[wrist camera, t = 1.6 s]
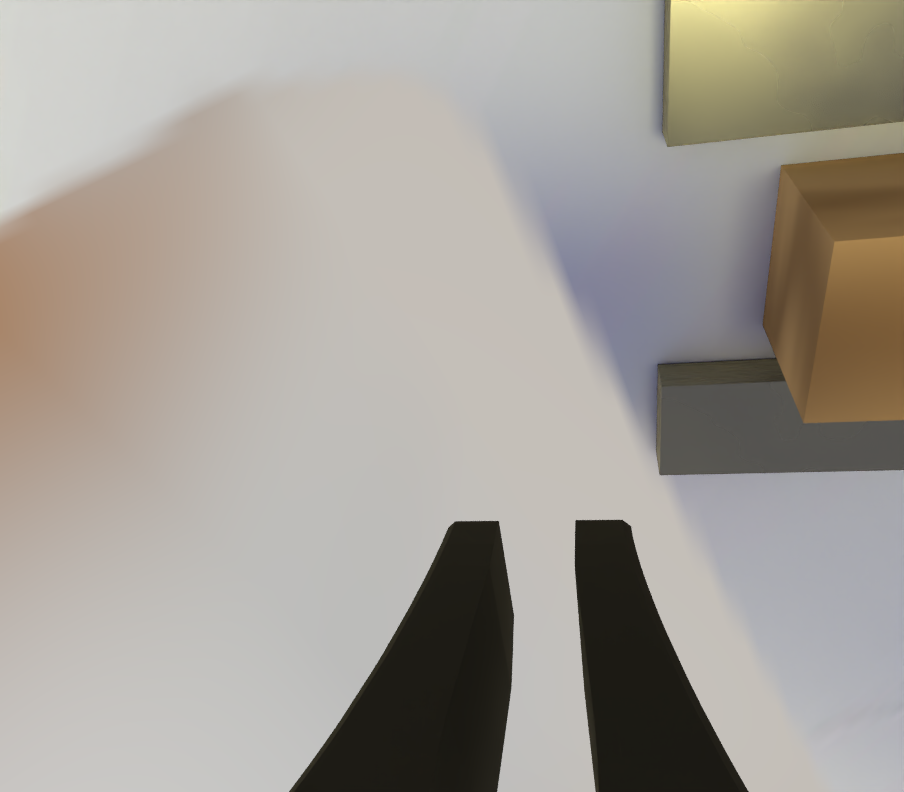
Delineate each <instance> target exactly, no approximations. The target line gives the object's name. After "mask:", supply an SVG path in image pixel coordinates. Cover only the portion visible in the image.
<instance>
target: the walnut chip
mask: <svg viewBox="0 0 904 792" xmlns="http://www.w3.org/2000/svg"><path fill="white" fill-rule="evenodd" d="M763 327H764V329H765V332H766V334H767V337H768V339H769V341H770V344H771V346H772V349H773V351H774V353H775V356H776V358H777V361H778V363H779V365H780V368H781V370H782V373H783V375H784V377H785V380H786V382H787V385H788V387H789V390H790V392H791V394H792V397H793V399H794V402H795V404H796V406H797V409H798V411H799V414H800V416H801V418H802V421H803V423H826V422H857V421H887V420H904V153H898V154H888V155H878V156H868V157H858V158H848V159H838V160H829V161H819V162H809V163H799V164H789V165H781V172H780V181H779V189H778V198H777V206H776V215H775V224H774V232H773V241H772V249H771V258H770V266H769V275H768V284H767V292H766V301H765V309H764V318H763Z"/></svg>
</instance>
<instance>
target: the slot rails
mask: <svg viewBox="0 0 904 792" xmlns="http://www.w3.org/2000/svg"><path fill="white" fill-rule="evenodd" d="M902 121H904V0H665V20H664V72H663V124H662V133H663V136H664V138H665V141H666V144H667V147H671V146H680V145H690V144H699V143H708V142H717V141H727V140H736V139H745V138H754V137H764V136H773V135H782V134H791V133H800V132H810V131H819V130H828V129H837V128H847V127H856V126H865V125H874V124H883V123H893V122H902ZM656 453H657V460H658V467H659V474H660V475H688V474H735V473H783V472H830V471H877V470H904V420H887V421H857V422H826V423H803V421H802V418H801V416H800V414H799V411H798V409H797V406H796V404H795V402H794V399H793V397H792V394H791V392H790V390H789V387H788V385H787V382H786V380H785V377H784V375H783V373H782V370H781V368H780V365H779V363H778V361H777V359H760V360H741V361H721V362H701V363H681V364H662V365H658V386H657V438H656Z"/></svg>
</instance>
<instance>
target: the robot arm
mask: <svg viewBox="0 0 904 792" xmlns="http://www.w3.org/2000/svg"><path fill="white" fill-rule="evenodd" d="M575 527H576V528H575V574H576V587H577V600H578V613H579V626H580V638H581V651H582V665H583V678H584V691H585V700H586V709H587V718H588V727H589V735H590V744H591V754H592V763H593V771H594V780H595V789H596V792H748V790H747V788H746V787H745V785H744V783H743V781H742V780H741V778H740V776H739V775H738V773H737V771H736V769H735V768H734V766H733V764H732V762H731V760H730V758H729V757H728V755H727V753H726V751H725V750H724V748H723V746H722V744H721V742H720V740H719V738H718V736H717V735H716V733H715V731H714V729H713V727H712V725H711V723H710V721H709V719H708V718H707V716H706V714H705V712H704V710H703V708H702V706H701V705H700V702H699V700H698V698H697V697H696V694H695V692H694V690H693V689H692V686H691V684H690V682H689V680H688V678H687V676H686V674H685V672H684V670H683V667H682V665H681V663H680V661H679V659H678V656H677V655H676V652H675V650H674V648H673V646H672V644H671V642H670V639H669V637H668V635H667V633H666V630H665V628H664V626H663V624H662V621H661V619H660V616H659V614H658V611H657V609H656V607H655V604H654V601H653V599H652V596H651V593H650V591H649V588H648V585H647V583H646V580H645V577H644V575H643V571H642V568H641V565H640V562H639V559H638V555H637V552H636V548H635V544H634V540H633V536H632V530H631V526H630V525H628V524H627V523H626V522H624V521H623V520H576V526H575ZM513 624H514V613H513V607H512V601H511V595H510V588H509V582H508V576H507V569H506V563H505V557H504V551H503V545H502V538H501V533H500V526H499V521H458V522H454V523H453V524H452V525H451V526H450V527H449V528H448V530H447V533H446V535H445V537H444V539H443V542H442V544H441V546H440V548H439V550H438V552H437V555H436V557H435V559H434V561H433V563H432V565H431V567H430V569H429V571H428V573H427V575H426V577H425V579H424V581H423V583H422V585H421V587H420V589H419V591H418V592H417V594H416V596H415V598H414V600H413V602H412V604H411V606H410V608H409V609H408V611H407V613H406V615H405V616H404V618H403V620H402V622H401V623H400V625H399V627H398V629H397V631H396V632H395V634H394V636H393V637H392V639H391V641H390V643H389V644H388V646H387V648H386V649H385V651H384V653H383V655H382V656H381V658H380V660H379V661H378V663H377V665H376V666H375V668H374V669H373V671H372V672H371V674H370V676H369V677H368V679H367V680H366V682H365V683H364V685H363V686H362V688H361V690H360V691H359V693H358V694H357V696H356V698H355V699H354V700H353V702H352V704H351V705H350V707H349V708H348V710H347V711H346V713H345V714H344V716H343V717H342V719H341V721H340V722H339V723H338V725H337V726H336V728H335V729H334V731H333V732H332V734H331V735H330V737H329V738H328V739H327V741H326V742H325V744H324V745H323V747H322V748H321V749H320V751H319V752H318V753H317V755H316V756H315V758H314V759H313V760H312V762H311V763H310V765H309V766H308V767H307V769H306V770H305V771H304V773H303V774H302V775H301V777H300V778H299V779H298V781H297V782H296V783H295V785H294V786H293V787H292V789H291V790H290V791H289V792H497V788H498V781H499V774H500V767H501V759H502V752H503V745H504V738H505V730H506V723H507V716H508V709H509V701H510V693H511V682H512V658H513Z"/></svg>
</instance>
